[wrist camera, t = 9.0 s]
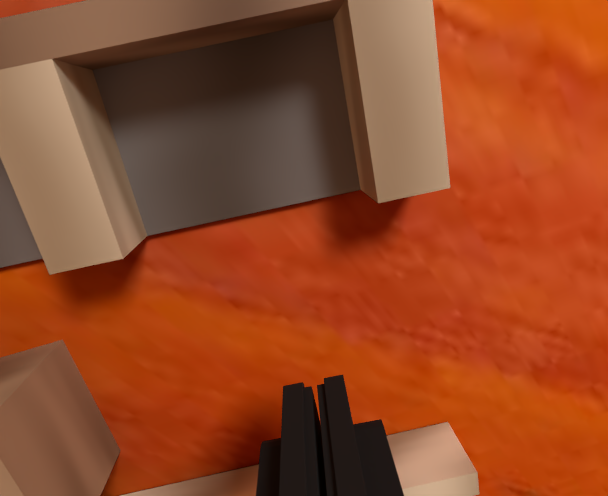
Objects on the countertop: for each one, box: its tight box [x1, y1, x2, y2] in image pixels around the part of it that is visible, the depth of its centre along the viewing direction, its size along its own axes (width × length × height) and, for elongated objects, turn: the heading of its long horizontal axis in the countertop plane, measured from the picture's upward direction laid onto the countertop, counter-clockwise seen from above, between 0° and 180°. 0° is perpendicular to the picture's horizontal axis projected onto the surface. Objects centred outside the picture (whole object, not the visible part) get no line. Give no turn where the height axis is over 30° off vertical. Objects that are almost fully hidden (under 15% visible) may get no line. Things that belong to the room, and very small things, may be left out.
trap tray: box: [0, 0, 479, 496], centre depth 13 cm, size 23×17×2 cm
